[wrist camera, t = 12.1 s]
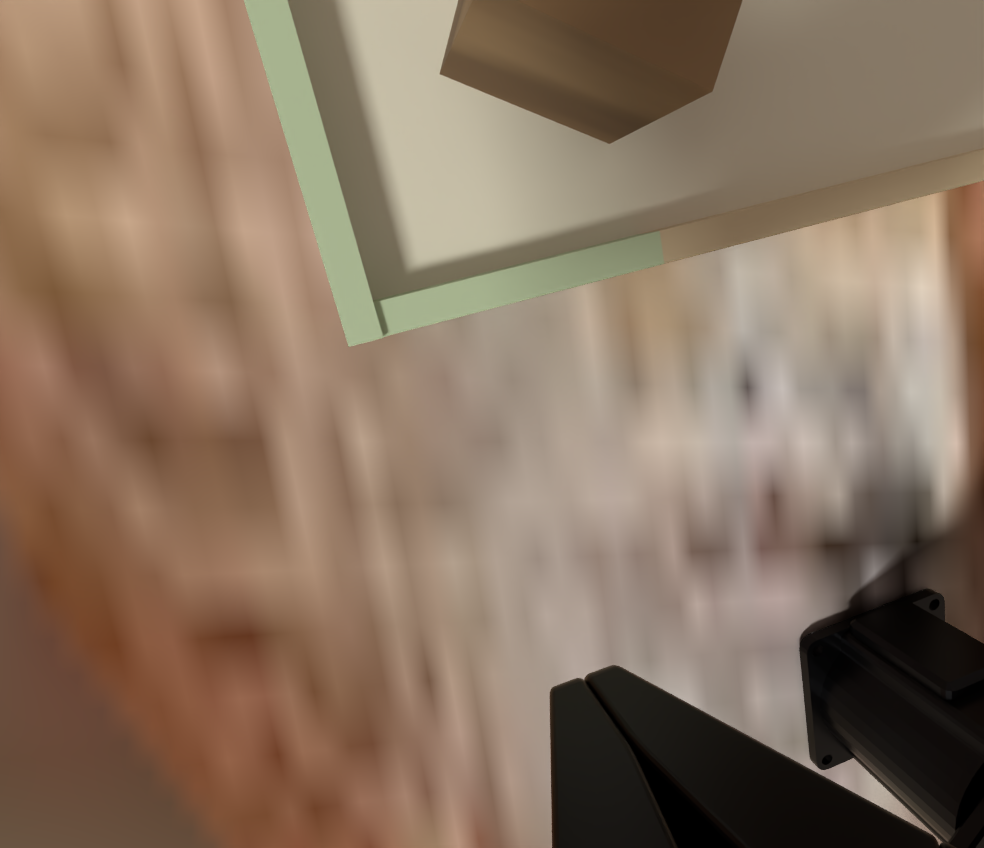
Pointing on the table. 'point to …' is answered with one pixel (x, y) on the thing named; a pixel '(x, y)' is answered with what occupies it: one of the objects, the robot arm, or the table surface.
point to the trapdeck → (603, 149)
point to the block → (591, 57)
